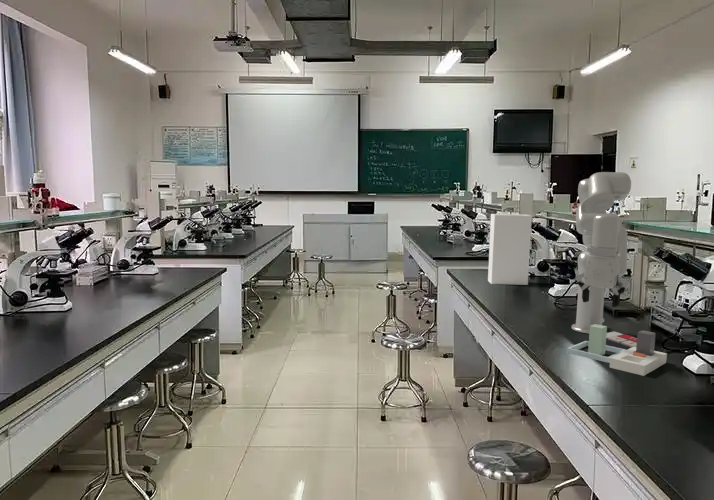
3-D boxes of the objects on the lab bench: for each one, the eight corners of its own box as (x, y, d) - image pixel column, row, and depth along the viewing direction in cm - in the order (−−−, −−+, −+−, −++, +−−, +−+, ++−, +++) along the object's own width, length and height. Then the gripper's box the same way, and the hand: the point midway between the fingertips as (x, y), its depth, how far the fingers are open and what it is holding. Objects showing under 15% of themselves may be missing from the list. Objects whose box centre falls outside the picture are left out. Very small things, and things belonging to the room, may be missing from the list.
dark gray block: (640, 358, 181) (642, 330, 180) (653, 361, 178) (655, 332, 177) (635, 361, 178) (637, 332, 177) (648, 364, 175) (651, 335, 174)
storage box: (523, 281, 331) (526, 214, 327) (527, 284, 321) (531, 215, 316) (487, 280, 332) (490, 213, 327) (491, 284, 322) (494, 214, 317)
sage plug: (593, 351, 189) (595, 324, 188) (605, 354, 186) (607, 326, 185) (587, 353, 186) (589, 325, 185) (599, 356, 183) (601, 328, 182)
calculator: (634, 346, 187) (595, 333, 200) (632, 358, 188) (594, 344, 201) (653, 342, 193) (614, 329, 206) (651, 353, 194) (613, 341, 206)
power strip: (633, 358, 185) (634, 344, 184) (665, 365, 178) (667, 351, 177) (609, 370, 172) (610, 355, 171) (643, 379, 165) (644, 363, 164)
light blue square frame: (585, 347, 196) (585, 340, 196) (626, 357, 186) (626, 349, 186) (566, 355, 186) (566, 348, 186) (608, 365, 176) (609, 358, 176)
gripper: (572, 250, 186) (569, 301, 187) (626, 255, 173) (622, 310, 175) (582, 249, 191) (579, 298, 192) (635, 254, 178) (631, 307, 180)
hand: (600, 304), depth 184 cm, fingers open, 9 cm apart
